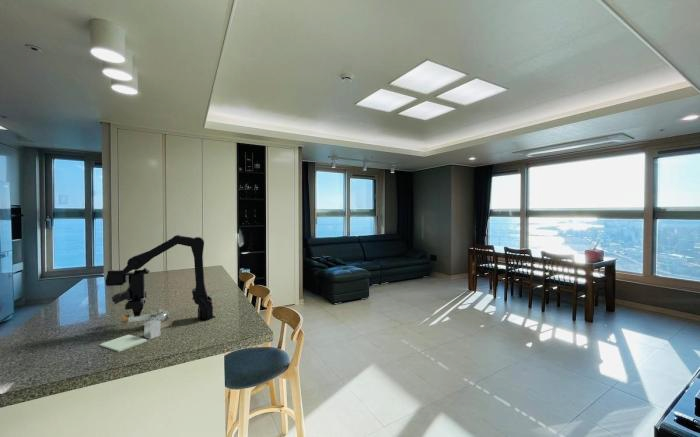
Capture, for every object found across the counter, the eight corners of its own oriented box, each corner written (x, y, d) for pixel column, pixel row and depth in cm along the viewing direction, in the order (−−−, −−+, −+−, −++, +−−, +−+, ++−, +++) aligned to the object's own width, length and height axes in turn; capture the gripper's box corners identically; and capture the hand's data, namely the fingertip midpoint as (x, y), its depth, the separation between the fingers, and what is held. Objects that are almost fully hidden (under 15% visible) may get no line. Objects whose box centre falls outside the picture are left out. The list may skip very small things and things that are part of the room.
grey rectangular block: (160, 335, 122) (160, 320, 122) (150, 338, 118) (150, 324, 118) (154, 333, 123) (154, 319, 123) (144, 337, 120) (144, 322, 119)
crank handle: (169, 316, 137) (169, 306, 137) (168, 321, 131) (168, 310, 131) (124, 322, 129) (124, 311, 129) (120, 327, 123) (120, 316, 123)
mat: (147, 341, 116) (147, 339, 116) (118, 351, 107) (118, 350, 107) (128, 335, 120) (128, 334, 120) (99, 345, 111) (99, 344, 111)
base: (177, 323, 135) (177, 318, 135) (156, 330, 126) (156, 326, 126) (163, 319, 139) (163, 315, 139) (141, 327, 130) (141, 322, 130)
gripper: (117, 281, 133) (117, 315, 134) (109, 291, 117) (109, 329, 118) (146, 278, 139) (147, 311, 140) (143, 288, 123) (143, 324, 124)
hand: (136, 318), depth 130 cm, fingers closed
